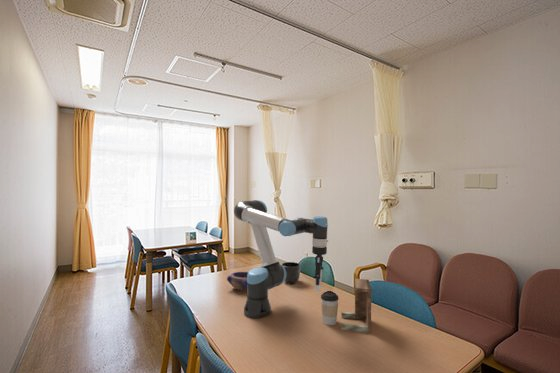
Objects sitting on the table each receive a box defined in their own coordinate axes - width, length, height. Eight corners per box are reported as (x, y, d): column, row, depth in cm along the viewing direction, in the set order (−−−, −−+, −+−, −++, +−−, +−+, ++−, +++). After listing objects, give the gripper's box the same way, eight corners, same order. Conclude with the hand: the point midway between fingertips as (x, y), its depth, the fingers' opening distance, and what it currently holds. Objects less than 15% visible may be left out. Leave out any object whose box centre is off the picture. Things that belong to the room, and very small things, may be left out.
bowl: (261, 286, 196) (261, 272, 196) (244, 295, 181) (244, 279, 181) (241, 282, 206) (241, 268, 206) (224, 289, 191) (224, 275, 191)
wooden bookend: (341, 329, 137) (341, 286, 137) (341, 316, 151) (341, 277, 151) (371, 333, 134) (371, 289, 134) (368, 319, 148) (368, 279, 148)
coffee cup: (338, 327, 140) (338, 297, 140) (320, 325, 142) (320, 295, 142) (338, 318, 149) (338, 290, 149) (321, 317, 150) (321, 289, 150)
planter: (300, 285, 199) (300, 267, 199) (281, 285, 199) (281, 267, 199) (299, 278, 213) (299, 262, 213) (281, 278, 213) (281, 261, 213)
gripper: (325, 252, 134) (324, 296, 134) (327, 241, 158) (326, 278, 159) (310, 251, 135) (308, 294, 136) (314, 240, 160) (313, 277, 160)
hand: (318, 286), depth 147 cm, fingers open, 13 cm apart
